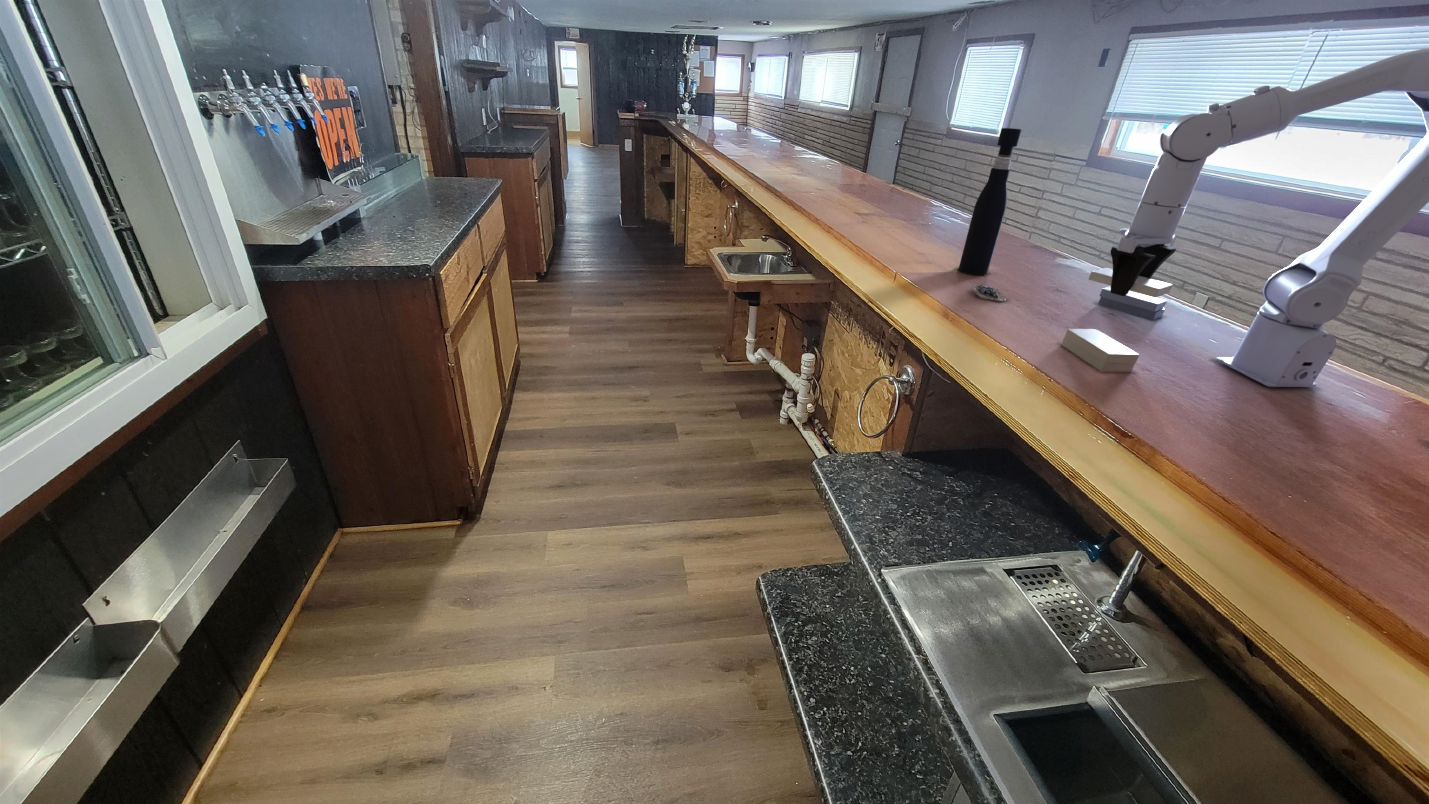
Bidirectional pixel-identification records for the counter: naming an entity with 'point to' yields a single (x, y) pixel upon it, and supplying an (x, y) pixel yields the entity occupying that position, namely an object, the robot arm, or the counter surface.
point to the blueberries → (988, 293)
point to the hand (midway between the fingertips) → (1125, 291)
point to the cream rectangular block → (1099, 350)
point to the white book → (1140, 285)
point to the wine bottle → (989, 210)
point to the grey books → (1133, 303)
